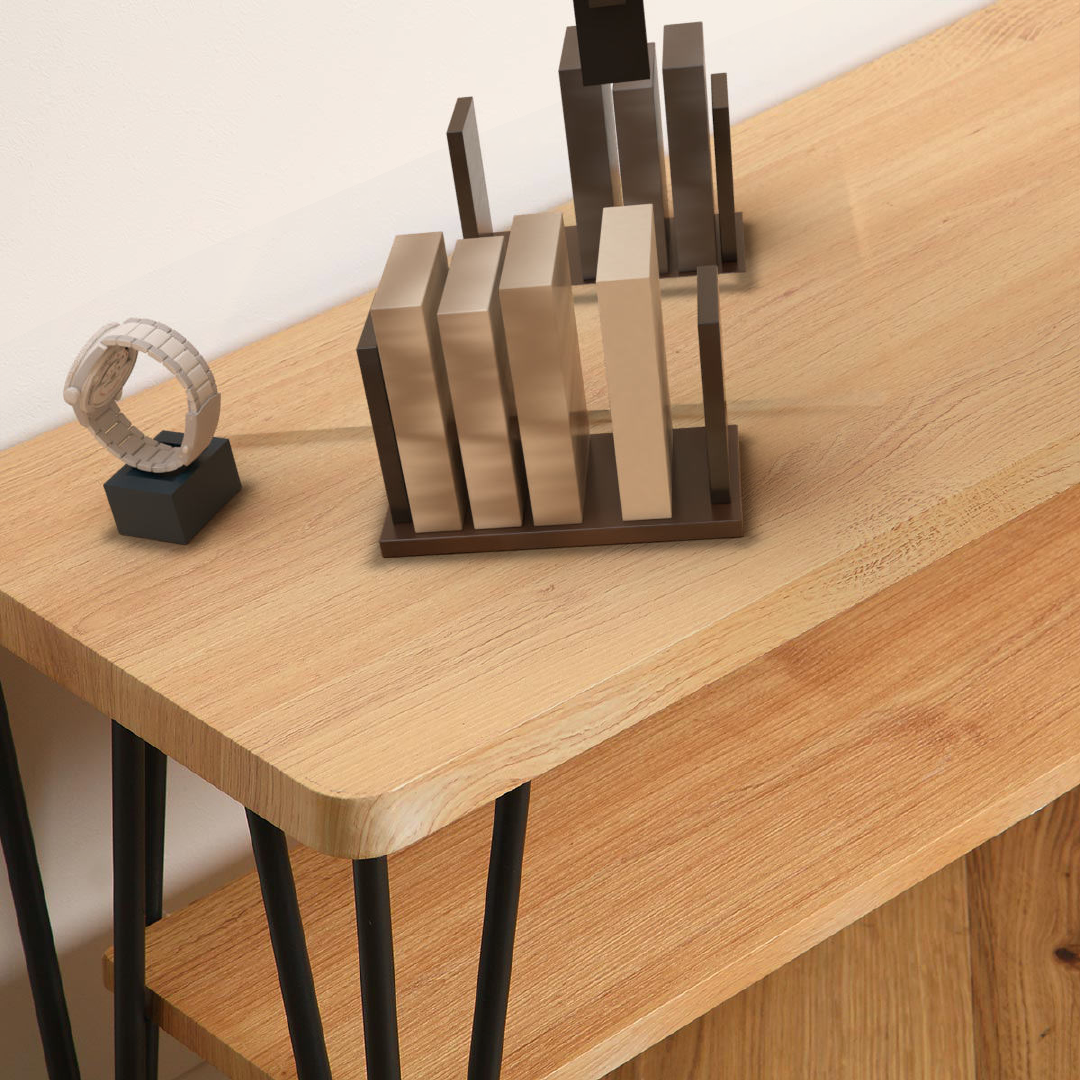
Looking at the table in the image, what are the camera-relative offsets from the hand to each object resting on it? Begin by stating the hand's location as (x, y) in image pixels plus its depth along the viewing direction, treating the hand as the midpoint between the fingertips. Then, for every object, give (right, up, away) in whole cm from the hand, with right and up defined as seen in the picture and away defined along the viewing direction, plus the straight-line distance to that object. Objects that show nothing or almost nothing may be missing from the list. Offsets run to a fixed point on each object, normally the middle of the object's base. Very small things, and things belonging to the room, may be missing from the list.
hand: (620, 27), depth 71 cm
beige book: (+2, -19, +12) cm, 22 cm away
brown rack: (-2, -20, +13) cm, 24 cm away
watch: (-23, -21, +16) cm, 35 cm away
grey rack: (+1, -5, +35) cm, 35 cm away
